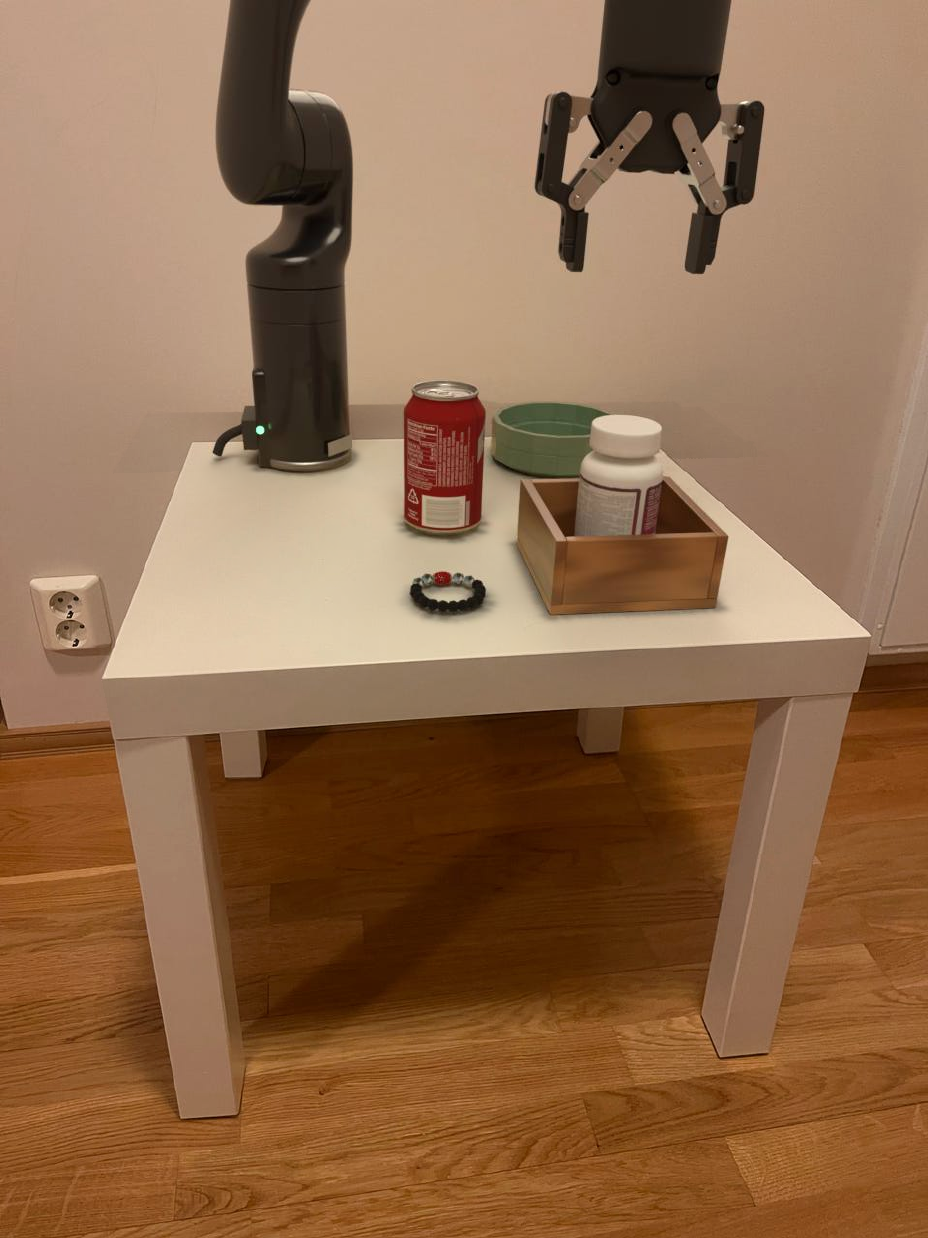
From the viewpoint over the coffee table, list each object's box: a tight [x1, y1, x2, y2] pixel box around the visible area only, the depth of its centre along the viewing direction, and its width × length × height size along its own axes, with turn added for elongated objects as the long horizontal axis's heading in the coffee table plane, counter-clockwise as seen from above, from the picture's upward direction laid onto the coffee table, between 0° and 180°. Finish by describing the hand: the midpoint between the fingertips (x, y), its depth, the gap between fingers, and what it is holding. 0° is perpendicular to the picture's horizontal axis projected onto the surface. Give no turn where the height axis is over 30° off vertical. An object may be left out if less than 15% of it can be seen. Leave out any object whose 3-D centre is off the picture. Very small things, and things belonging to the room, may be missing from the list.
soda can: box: [403, 379, 487, 537], centre depth 77 cm, size 7×7×12 cm
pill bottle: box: [574, 414, 664, 537], centre depth 69 cm, size 6×6×11 cm
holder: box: [516, 475, 729, 616], centre depth 70 cm, size 13×13×6 cm
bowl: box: [490, 400, 616, 479], centre depth 95 cm, size 13×13×4 cm
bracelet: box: [409, 571, 487, 613], centre depth 67 cm, size 6×6×1 cm
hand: (634, 271), depth 62 cm, fingers open, 8 cm apart
